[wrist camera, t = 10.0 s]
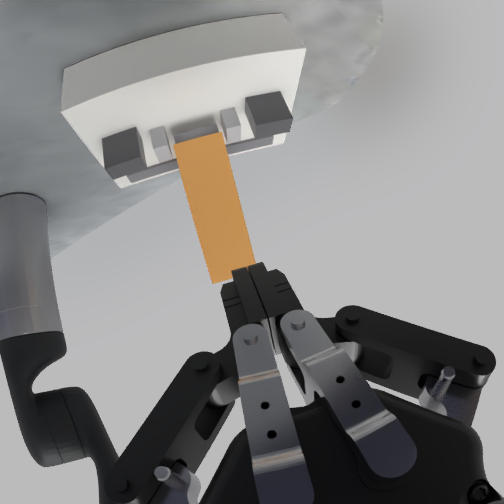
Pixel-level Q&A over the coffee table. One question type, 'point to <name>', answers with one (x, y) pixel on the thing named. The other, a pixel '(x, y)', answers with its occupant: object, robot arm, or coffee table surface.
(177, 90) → the white slotted plate
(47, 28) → the coffee table surface
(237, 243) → the breaker handle
